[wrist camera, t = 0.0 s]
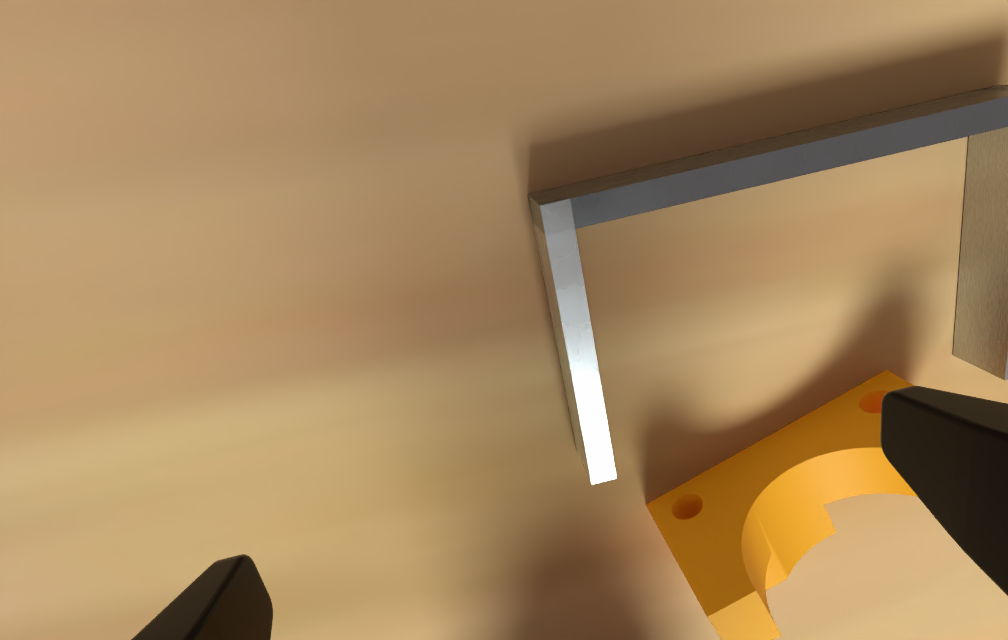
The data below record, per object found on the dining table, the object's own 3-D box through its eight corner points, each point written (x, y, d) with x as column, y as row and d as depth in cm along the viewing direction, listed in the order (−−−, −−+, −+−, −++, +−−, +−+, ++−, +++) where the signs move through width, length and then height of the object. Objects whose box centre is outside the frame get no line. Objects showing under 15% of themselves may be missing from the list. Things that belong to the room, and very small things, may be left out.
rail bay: (974, 349, 26) (1028, 374, 24) (576, 449, 25) (592, 484, 23) (997, 85, 22) (1064, 83, 20) (527, 194, 21) (539, 205, 19)
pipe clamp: (682, 564, 28) (751, 687, 22) (644, 502, 27) (707, 616, 21) (910, 439, 28) (1045, 532, 22) (883, 367, 26) (1021, 447, 20)
